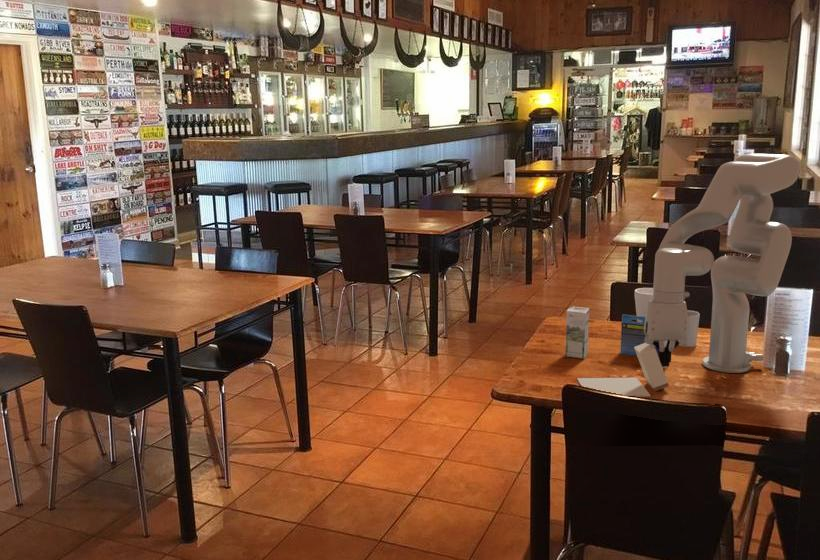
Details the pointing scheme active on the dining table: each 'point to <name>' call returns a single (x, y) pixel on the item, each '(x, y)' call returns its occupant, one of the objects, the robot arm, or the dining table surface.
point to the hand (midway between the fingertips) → (663, 364)
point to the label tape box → (631, 333)
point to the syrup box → (577, 332)
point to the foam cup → (642, 301)
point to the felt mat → (616, 386)
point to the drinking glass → (692, 328)
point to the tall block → (651, 366)
